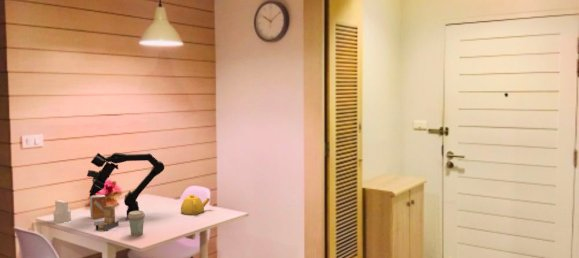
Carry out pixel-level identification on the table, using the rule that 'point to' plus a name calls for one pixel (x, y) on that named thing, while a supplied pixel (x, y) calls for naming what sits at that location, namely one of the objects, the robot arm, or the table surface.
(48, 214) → the table surface
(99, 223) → the slate mat
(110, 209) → the tan flared column
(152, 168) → the robot arm
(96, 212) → the small box
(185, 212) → the teapot
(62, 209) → the cylinder with rectangular tab
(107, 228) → the steel rack
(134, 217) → the coffee cup
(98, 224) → the offcut stack
